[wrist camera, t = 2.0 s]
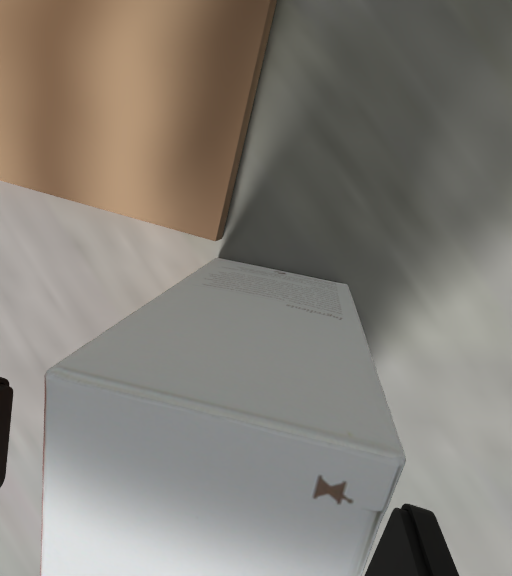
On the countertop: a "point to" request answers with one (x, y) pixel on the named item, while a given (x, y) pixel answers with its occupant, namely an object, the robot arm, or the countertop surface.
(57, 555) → the small box
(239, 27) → the shelf board
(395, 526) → the robot arm
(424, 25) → the countertop surface
